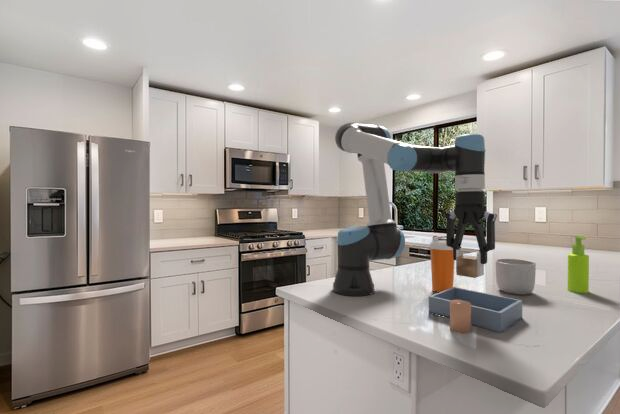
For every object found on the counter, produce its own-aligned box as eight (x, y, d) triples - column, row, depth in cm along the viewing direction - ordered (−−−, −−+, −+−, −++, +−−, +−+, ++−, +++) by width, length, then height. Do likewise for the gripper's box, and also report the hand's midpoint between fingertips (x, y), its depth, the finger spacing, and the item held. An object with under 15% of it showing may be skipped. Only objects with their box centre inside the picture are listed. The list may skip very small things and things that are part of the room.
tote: (428, 313, 98) (428, 296, 98) (453, 302, 108) (453, 286, 108) (500, 332, 83) (501, 313, 83) (522, 318, 93) (522, 300, 93)
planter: (512, 286, 128) (512, 257, 127) (544, 294, 116) (544, 263, 116) (487, 289, 124) (487, 259, 124) (517, 298, 112) (517, 266, 112)
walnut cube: (456, 275, 93) (456, 257, 93) (464, 272, 97) (464, 255, 97) (474, 277, 90) (474, 259, 90) (482, 275, 93) (482, 257, 93)
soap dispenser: (571, 293, 117) (572, 236, 117) (565, 288, 124) (565, 234, 123) (592, 294, 115) (593, 237, 115) (584, 289, 122) (585, 235, 121)
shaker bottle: (458, 294, 117) (458, 237, 116) (431, 293, 118) (431, 237, 118) (452, 288, 125) (452, 235, 125) (427, 287, 127) (427, 234, 127)
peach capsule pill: (446, 329, 86) (446, 302, 86) (455, 324, 89) (455, 298, 89) (465, 335, 82) (465, 306, 82) (474, 329, 85) (474, 302, 85)
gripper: (432, 191, 97) (432, 270, 98) (499, 189, 84) (499, 281, 84) (445, 191, 102) (445, 267, 103) (510, 190, 88) (510, 277, 89)
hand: (469, 273), depth 93 cm, fingers closed on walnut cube, 5 cm apart
